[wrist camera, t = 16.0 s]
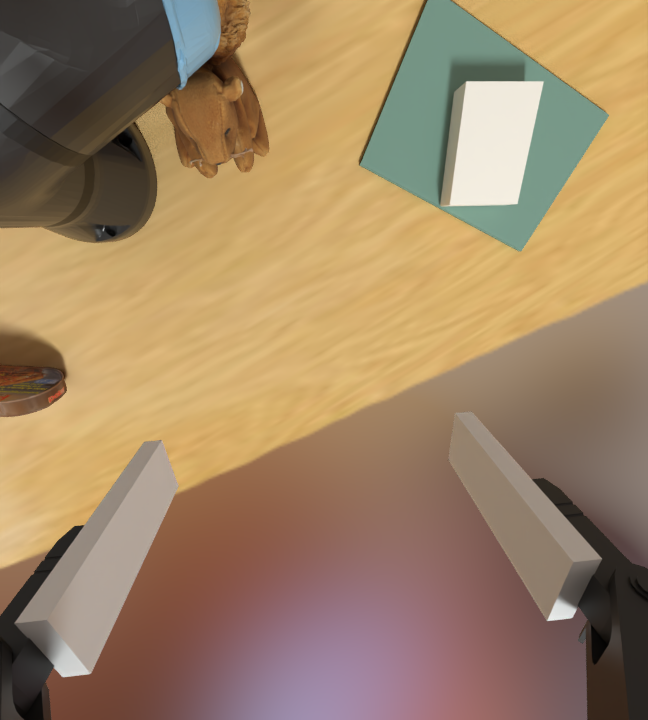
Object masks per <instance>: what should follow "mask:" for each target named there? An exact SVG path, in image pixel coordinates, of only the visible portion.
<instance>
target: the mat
mask: <svg viewBox="0 0 648 720" xmlns="http://www.w3.org/2000/svg"><path fill="white" fill-rule="evenodd" d="M466 81H544V83H543V88H542V92H541V97H540V101H539V106H538V111H537V115H536V120H535V125H534V129H533V134H532V139H531V143H530V148H529V153H528V157H527V162H526V166H525V171H524V176H523V180H522V185H521V190H520V194H519V199H518V204H512V205H490V206H440V203H441V195H442V187H443V179H444V171H445V162H446V154H447V146H448V138H449V130H450V122H451V113H452V105H453V97H454V92H455V91H456V90H457V89H458V88H459V87H460V86H462V85H463V84H464V83H465V82H466ZM608 116H609V115H608V114H607V113H606V112H604V111H603V110H601V109H600V108H599V107H597V106H596V105H594V104H593V103H592V102H590V101H589V100H588V99H586V98H585V97H583V96H582V95H581V94H579V93H578V92H576V91H575V90H574V89H572V88H571V87H570V86H568V85H567V84H565V83H564V82H563V81H561V80H560V79H558V78H557V77H556V76H554V75H553V74H552V73H550V72H549V71H547V70H546V69H545V68H543V67H542V66H540V65H539V64H538V63H536V62H535V61H534V60H532V59H531V58H529V57H528V56H527V55H525V54H524V53H522V52H521V51H520V50H518V49H517V48H516V47H514V46H513V45H511V44H510V43H509V42H507V41H506V40H504V39H503V38H502V37H500V36H499V35H498V34H496V33H495V32H493V31H492V30H491V29H489V28H488V27H486V26H485V25H484V24H482V23H481V22H480V21H478V20H477V19H475V18H474V17H473V16H471V15H470V14H469V13H467V12H466V11H464V10H463V9H462V8H460V7H459V6H457V5H456V4H455V3H453V2H452V1H451V0H427V2H426V5H425V7H424V10H423V12H422V15H421V17H420V19H419V22H418V24H417V27H416V29H415V32H414V34H413V36H412V39H411V41H410V44H409V46H408V49H407V51H406V54H405V56H404V58H403V61H402V63H401V66H400V68H399V71H398V73H397V75H396V78H395V80H394V83H393V85H392V88H391V90H390V92H389V95H388V97H387V100H386V102H385V105H384V107H383V109H382V112H381V114H380V117H379V119H378V122H377V124H376V127H375V129H374V131H373V134H372V136H371V139H370V141H369V144H368V146H367V148H366V151H365V153H364V156H363V158H362V161H361V163H360V166H362V167H363V168H365V169H367V170H369V171H371V172H373V173H375V174H376V175H378V176H380V177H382V178H384V179H386V180H387V181H389V182H391V183H393V184H395V185H397V186H399V187H400V188H402V189H404V190H406V191H408V192H410V193H412V194H413V195H415V196H417V197H419V198H421V199H423V200H425V201H426V202H428V203H430V204H432V205H434V206H436V207H438V208H439V209H441V210H443V211H445V212H447V213H449V214H451V215H452V216H454V217H456V218H458V219H460V220H462V221H464V222H465V223H467V224H469V225H471V226H473V227H475V228H477V229H478V230H480V231H482V232H484V233H486V234H488V235H490V236H491V237H493V238H495V239H497V240H499V241H501V242H503V243H504V244H506V245H508V246H510V247H512V248H514V249H516V250H517V251H522V249H523V248H524V246H525V245H526V243H527V242H528V240H529V238H530V237H531V235H532V234H533V232H534V231H535V229H536V228H537V226H538V225H539V223H540V221H541V220H542V218H543V217H544V215H545V214H546V212H547V211H548V209H549V208H550V206H551V204H552V203H553V201H554V200H555V198H556V197H557V195H558V194H559V192H560V191H561V189H562V187H563V186H564V184H565V183H566V181H567V180H568V178H569V177H570V175H571V174H572V172H573V170H574V169H575V167H576V166H577V164H578V163H579V161H580V160H581V158H582V157H583V155H584V153H585V152H586V150H587V149H588V147H589V146H590V144H591V143H592V141H593V139H594V138H595V136H596V135H597V133H598V132H599V130H600V129H601V127H602V126H603V124H604V122H605V121H606V119H607V118H608Z"/></svg>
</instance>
